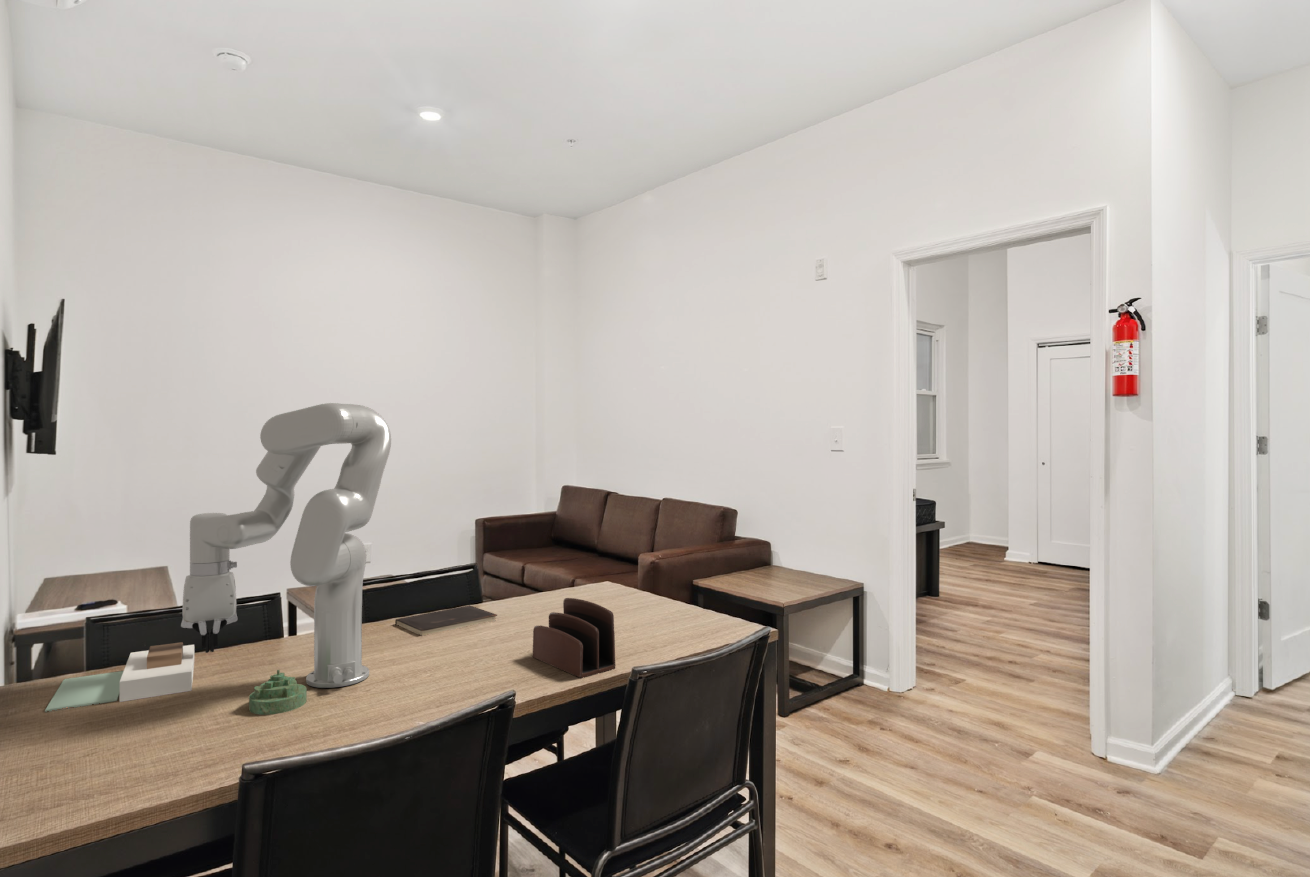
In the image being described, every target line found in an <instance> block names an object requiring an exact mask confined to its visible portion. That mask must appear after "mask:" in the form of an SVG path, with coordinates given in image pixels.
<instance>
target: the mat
mask: <svg viewBox="0 0 1310 877" xmlns="http://www.w3.org/2000/svg"><path fill="white" fill-rule="evenodd" d="M123 672H124V670H121V671H120V670H119V671H114V672H113V671H112V672H105V673H97V674H91V675H90V674H89V675H83V676H78V677H77V676H76V677H70V678H64V679H63V680H62V682H61V683H60V685H59V686H58V689H57V690H56V692H55V693H54V695H53V696H52V698H51V700H50V701H49V702H48V705H47V707H46V708H45V709H44V712H45V713H48V712H47V711H49V712H53V711H52V710H55V711H58V710H57V709H62V708H66V707H68V709H70V708H69V707H74V708H79V707H80V706H81V707H86V706H93V705H92V704H94V705H99V703H100V704H106V703H111V702H113V703H114V702H117V701H118V700H119V698H120V679H121V677H122V674H123ZM62 710H63V709H62Z"/></svg>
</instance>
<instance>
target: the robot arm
mask: <svg viewBox="0 0 1310 877" xmlns="http://www.w3.org/2000/svg"><path fill="white" fill-rule="evenodd" d="M389 427H390V426H389V425H388V423H387V422H386V420H385V419H384V417H383V416H382V415H381V414H380V413H378V412H377V411H376V410H375V409H373V408H370V407H368V406H365V405H361V404H351V403H338V402H337V403H336V402H335V403H334V402H328V403H327V402H326V403H320V404H316V405H313V406H308V407H305V408H300V409H296V410H291V411H288V412H283V413H279V414H276V415H274V416H272V417H270V418H269V419H267V421H266V422H265V423H264V425H263V426H262V428H261V429H260V433H259V434H260V437H259V438H260V442H261V445H262V447H263V448H264V449H265V450H266V451H267V452H266V454H265V455H264V457H263V458H262V460H261V461H260V463H259V464H258V466H257V467H256V469H255V473H256V477H257V478H258V479H259V481H261V483H262V484H264V485H266V490H265V494H264V495H263V497H262V498H261V501H260V502H259V503H258V505H257V506H256V508H255V509H254V510H252V511H245V512H239V513H234V514H226V513H222V512H206V513H199V514H198V513H197V514H195V515H192V517H191V518H190V521H189V575H186V576H185V579H184V585H183V594H182V610H181V611H182V620H181V623H180V627H181V628H184V629H186V628H187V629H193V630H195V631H196V632H198V633H199V634H200V636H201V649H205V653H207V654H208V653H209V652H211V653H214V652H215V648H216V647H217V648H218V641H219V640H218V636H219V635H218V633H220V631H221V630H222V629H223V628H224V627H225V626H227V625H229V624H233V623H236V622H237V621H238V616H237V592H236V590H237V589H236V580H235V574H234V572H233V571H230V570H232V569H234V568H237V567H238V565H237V563H238V562H237V561H233V560H230V550H236V549H242V548H246V547H249V546H253V545H258V544H262V543H265V542H268V541H269V540H272V538H273V537H274V536H276V534H277V533H278V532H279V530H280V529H281V528H282V527H283V524H285V522H286V520H287V519H288V517H289V515H290V514H291V511H292V510H293V506H294V500H295V487H296V485H297V483H298V482H299V481H300V479H301V477H302V476H303V475H304V473H305V472H306V470H307V469H308V467H309V465H310V464H311V462H312V460H313V459H314V458H315V457H316V455H317V453H318V452H319V450H320V449H321V447H323V446H326V445H327V446H328V445H335V444H336V445H337V444H338V445H340V444H341V445H342V444H350V445H351V449H350V450H349V452H348V454H347V455H346V456H345V459H344V460H343V462H342V465H341V468H340V470H339V471H340V472H339V476H338V479H337V482H336V484H335V486H334V488H330V489H325V490H322V491H319V492H317V493H316V494H314V495H313V496H312V497H311V498H310V499H309V501H308V502H307V503H306V505H305V506H304V509H303V511H302V515H301V518H300V522H299V525H298V529H297V532H296V536H295V539H294V543H293V547H292V551H291V555H290V562H289V563H290V570H291V574H292V576H293V577H294V579H295V580H296V581H297V582H298V583H299V584H301V585H303V586H306V587H316V588H315V593H314V600H313V601H314V602H313V604H314V605H313V607H314V608H313V609H314V610H313V616H314V617H313V622H314V623H313V624H314V626H313V629H314V631H313V632H314V633H313V638H314V640H313V642H314V644H313V648H314V649H313V656H314V657H313V659H314V660H313V661H314V662H313V663H314V664H313V671H311V672H309V673H308V674H307V675H306V677H305V683H306V684H307V685H308V686H310V687H313V688H318V689H319V688H321V689H332V688H333V689H334V688H340V687H346V686H351V685H354V684H358V683H360V682H362V681H364V680H366V679H367V678H368V677H369V675H370V668H369V667H368V666H365V665H363V662H362V660H363V657H362V656H363V653H362V652H363V650H362V649H363V645H362V642H363V640H362V639H363V638H362V636H363V632H362V631H363V629H362V627H363V624H362V622H363V618H362V617H363V607H362V606H363V585H364V584H363V582H364V575H365V568H366V563H367V553H366V552H367V551H366V548H365V545H364V543H363V541H362V540H361V539H360V538H359V537H357V536H356V535H355V534H352V533H348V532H352V531H355V530H359V529H361V528H364V527H365V526H366V525H367V524H368V523H369V522H370V520H371V518H372V515H373V512H374V509H375V505H376V501H377V497H378V495H379V490H380V486H381V484H382V483H381V482H382V478H383V474H384V471H385V468H386V466H387V462H388V458H389V455H390V451H391V446H392V434H391V430H390V428H389ZM210 621H213V626H212V628H211V630H210V631H209V629H208V628H207V623H206V622H210Z"/></svg>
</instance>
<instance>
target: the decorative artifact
mask: <svg viewBox="0 0 1310 877" xmlns="http://www.w3.org/2000/svg"><path fill="white" fill-rule="evenodd" d="M253 689H254V691H253V692H252V693H250V695H248V708H249V709H248V710H249V712H250V713H251V714H255V715H261V716H262V715H263V716H264V715H265V716H269V715H277V714H284V713H288V712H291V711H295V710H296V709H299V708H302V707H303V706H304V705H305V704H306V703H307V699H308V698H307V694H308V692H307V686H305V685H303V684H301V683H297V680H296V677H295V676H287V675H286V674H285V672H281V671H280V669H277V670H276V673H274V674H273V675H269V679H268V680H267V681H265V682H263V683H260V685H258V686H257V685H256V686H254V688H253Z"/></svg>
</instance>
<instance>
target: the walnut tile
mask: <svg viewBox="0 0 1310 877" xmlns="http://www.w3.org/2000/svg"><path fill="white" fill-rule="evenodd" d="M183 646H184V643H183V641H182V642H175V643H173V642H172V643H165V644H160V645H159V644H158V645H150V646H149V649H148V650H149V652H148V655H147V669H152V668H159V667H166V666H173V665H180V664H181V663H182V656H183Z"/></svg>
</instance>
